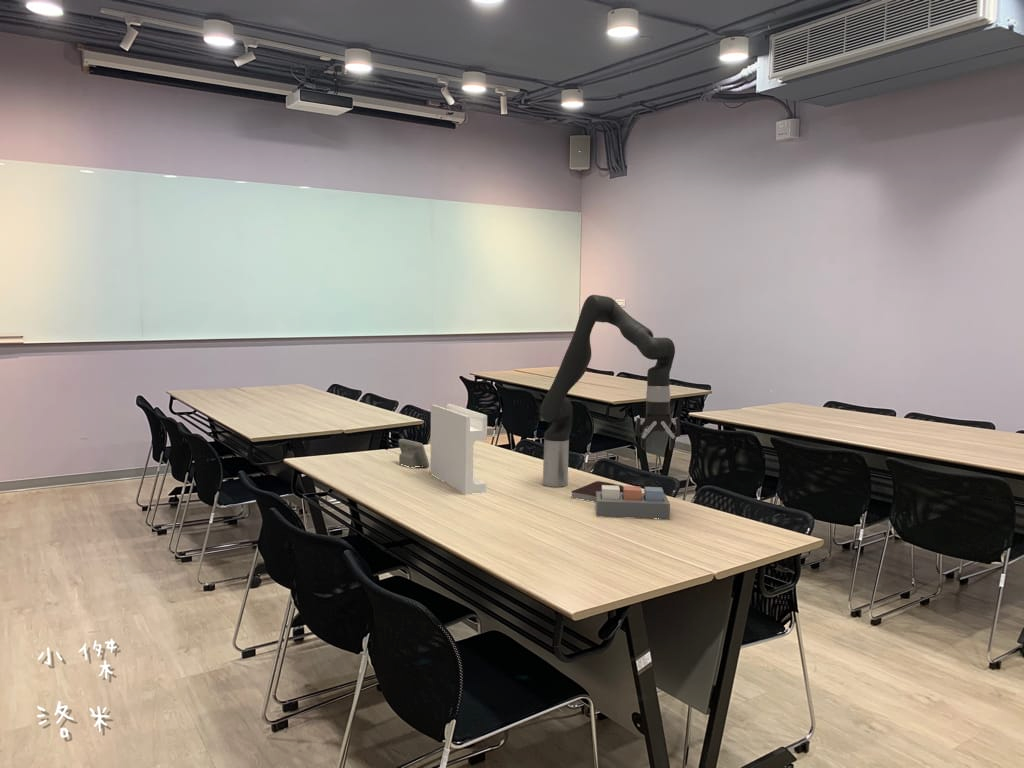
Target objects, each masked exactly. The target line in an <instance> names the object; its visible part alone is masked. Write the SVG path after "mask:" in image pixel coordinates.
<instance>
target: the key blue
mask: <svg viewBox="0 0 1024 768" xmlns="http://www.w3.org/2000/svg"><path fill="white" fill-rule="evenodd" d="M643 493H644V500H645V501H663V497H664V494H665V493H664V490H663V487H659V486H657V487H656V486H644V491H643Z"/></svg>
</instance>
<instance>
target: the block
mask: <svg viewBox="0 0 1024 768" xmlns="http://www.w3.org/2000/svg"><path fill="white" fill-rule="evenodd" d="M487 427H488V415H487V414H484V413H481V412H478V411H474V410H472V409H468V408H464V407H462V406H460V405H459V406H458V405H456V404H452V403H447V404H446V408H445V407H442V406H439V405H436V404H430V462H429V466H430V470H429V472H430V473H431V474H433V475H434V476H436V477H438V478H439V479H441V480H443V481H444V482H446V483H447V484H449V485H451V486H453V487H454V488H456V489H458V490H459V491H461V492H463V493H464V495H465V494H470V495H473V494H472V493H480V494H483V493H482V492H486V493H487V490H486V489H487V483H486V482H484V481H483V480H480V479H479V478H477V477H475V476H474V445H475V443H476V442H477V441H478V442H479V441H487V439H488V428H487ZM430 473H429V474H430ZM434 476H433V477H434ZM439 479H438V480H439ZM441 480H440V481H441ZM444 482H443V483H444ZM446 483H445V484H446ZM447 484H446V485H447ZM449 485H448V486H449ZM451 486H450V487H451ZM453 487H452V488H453ZM454 488H453V489H454ZM456 489H455V490H456ZM458 490H457V491H458ZM459 491H458V492H459ZM461 492H460V493H461ZM463 493H462V494H463Z"/></svg>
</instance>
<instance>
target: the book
mask: <svg viewBox="0 0 1024 768" xmlns="http://www.w3.org/2000/svg"><path fill="white" fill-rule="evenodd" d="M602 485H612V486H619V489H620V492H623V486H624V485H621V484H615V483H611V482H606V481H600V480H598V481H597V480H596V481H594V482H591V483H589V484H586V485H583V486H581V487H578V488H576V489H573V490H571V492H570V493H571V497H573V498H572V499H574V498H578V499H577V500H579V499H584V500H583V501H585V500H589V501H588V502H590V501H594V502H593V503H596V491H599V492H602Z"/></svg>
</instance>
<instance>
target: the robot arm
mask: <svg viewBox="0 0 1024 768" xmlns="http://www.w3.org/2000/svg"><path fill="white" fill-rule="evenodd" d="M596 322H597V323H603V324H604V323H607V324H610V325H612V326H615V327H616V328H617V329H619V332H620V333H621V336H622V337H624V338H625V339H626V341H628V342H629V343H631V344H633V345H634V346H635V347H636V348H637V349H638V351H639V352H640V353H641V355H642V356H643V357H644V358H647V359H648V360H652V361H654V360H655V361H656V363H655V365H654V366H652V367H650V368H648V370H647V376H646V378H647V380H646V384H647V385H646V394H645V397H646V399H645V400H646V401H645V405H646V406H645V416H644V418H643V417H636V418H635V429H634V435H635V436H636V437H638V438H640V448H641V449H642V450H643V451H646V450H647V438H646V437H647V436H648V435H649V434H650V432H651V431H652V432H664V431H665V432H666V433H667V434H668V436H669V440H668V442H669V443H668V444H669V445H668V449H669V451H673V450H674V448H675V445H676V443H675V440H676V438H678V437H681V434H682V433H681V431H682V430H681V419H680V417H676V416H675V417H674V418H671V390H670V389H671V388H670V375H671V374H670V373H671V370H672V366H673V362H674V359H675V355H676V348H675V343H674V341H673V340H672V339H671V338H669V337H654V333H653V332H652V330H651V329H650V328H648V327H647V326H646V325H644V324H643V323H641V322H639V321H638V320H636V319H635V318H634V317H632V315H630V314H629V313H627V312H626V311H625V310H624V309H623V308H622V306H620V304H618V302H617V301H616V300H615V299H613V298H612V297H611V296H610V297H609V296H607V295H605V296H604V295H599V294H590V295H589V296H588V297H586V299H585V300H584V302H583V305H582V307H581V309H580V313H579V317H578V319H577V324H576V327H575V329H574V332H573V334H572V337H571V340H570V342H569V345H568V347H567V349H566V351H565V353H564V355H563V358H562V361H561V363H560V367H559V368H558V370H557V373H556V375H555V377H554V379H553V382H552V384H551V385H550V388H549V389H548V391H547V393H546V395H545V397H544V398H543V401H542V403H541V405H540V415H541V418H542V420H543V421H545V422H546V423H551V425H550V427H549V428H547V429H546V430H545V432H544V435H543V437H544V438H543V439H544V441H543V445H544V446H543V467H542V486H545V485H546V486H547V487H551V486H552V487H551V488H553V487H554V488H562V487H561V486H563V487H566V485H567V486H568V484H569V451H570V450H569V447H570V445H569V443H570V434H571V433H572V432H571V431H572V425H573V424H572V423H573V405H572V402H571V401H570V398H568V397H567V395H568V393H569V392H570V390H571V389H572V388H573V387H574V386H575V385H577V383H578V382H579V381H580V380H581V378H582V377H583V376H584V374H585V373H586V371H587V368H588V367H589V365H590V362H591V360H592V359H591V358H592V346H591V345H592V344H591V334H592V330H593V328H594V326H595V324H596ZM644 422H645V424H646V427H645V428H644V429H643V431H642V433H641V425H643V424H644ZM671 422H672V424H673V425H674V427H675V432H674V433H673V431H672V430H671V429H670V428H669V425H670V424H671Z"/></svg>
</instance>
